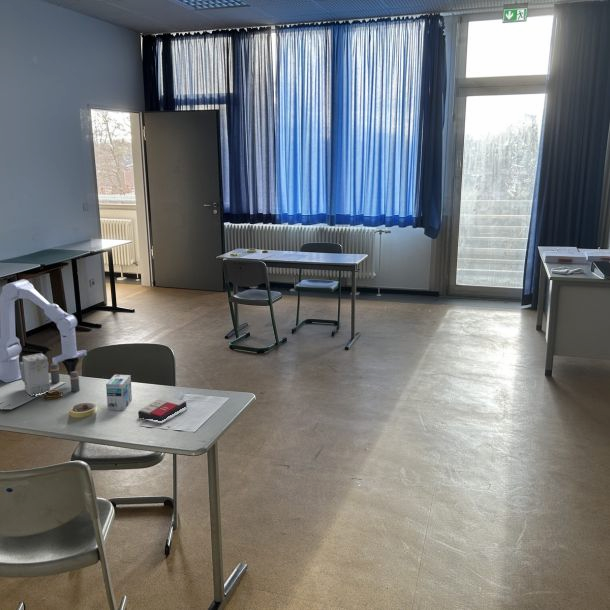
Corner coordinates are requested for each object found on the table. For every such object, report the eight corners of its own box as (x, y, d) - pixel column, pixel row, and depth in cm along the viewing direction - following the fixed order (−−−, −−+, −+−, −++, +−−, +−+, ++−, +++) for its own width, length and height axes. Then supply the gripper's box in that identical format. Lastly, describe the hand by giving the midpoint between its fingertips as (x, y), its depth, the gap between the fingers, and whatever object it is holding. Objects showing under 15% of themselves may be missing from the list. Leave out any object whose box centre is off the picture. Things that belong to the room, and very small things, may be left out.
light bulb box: (124, 411, 230) (123, 384, 228) (106, 410, 230) (105, 383, 228) (132, 400, 241) (131, 374, 238) (115, 399, 241) (114, 374, 238)
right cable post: (69, 390, 248) (67, 372, 246) (76, 388, 251) (75, 370, 249) (74, 393, 246) (72, 374, 244) (81, 390, 249) (80, 372, 247)
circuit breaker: (39, 382, 256) (36, 349, 253) (50, 393, 246) (47, 358, 242) (21, 386, 251) (17, 352, 248) (31, 397, 241) (27, 361, 237)
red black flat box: (137, 409, 223) (163, 394, 236) (138, 420, 225) (164, 404, 238) (160, 415, 219) (186, 399, 231) (161, 426, 220) (187, 410, 233)
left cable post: (49, 382, 257) (48, 364, 255) (57, 380, 260) (55, 362, 258) (54, 384, 255) (52, 366, 253) (61, 381, 258) (60, 364, 256)
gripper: (57, 350, 243) (60, 382, 246) (89, 342, 254) (92, 372, 258) (48, 346, 247) (51, 378, 251) (80, 339, 258) (82, 369, 262)
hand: (71, 375), depth 254 cm, fingers closed
